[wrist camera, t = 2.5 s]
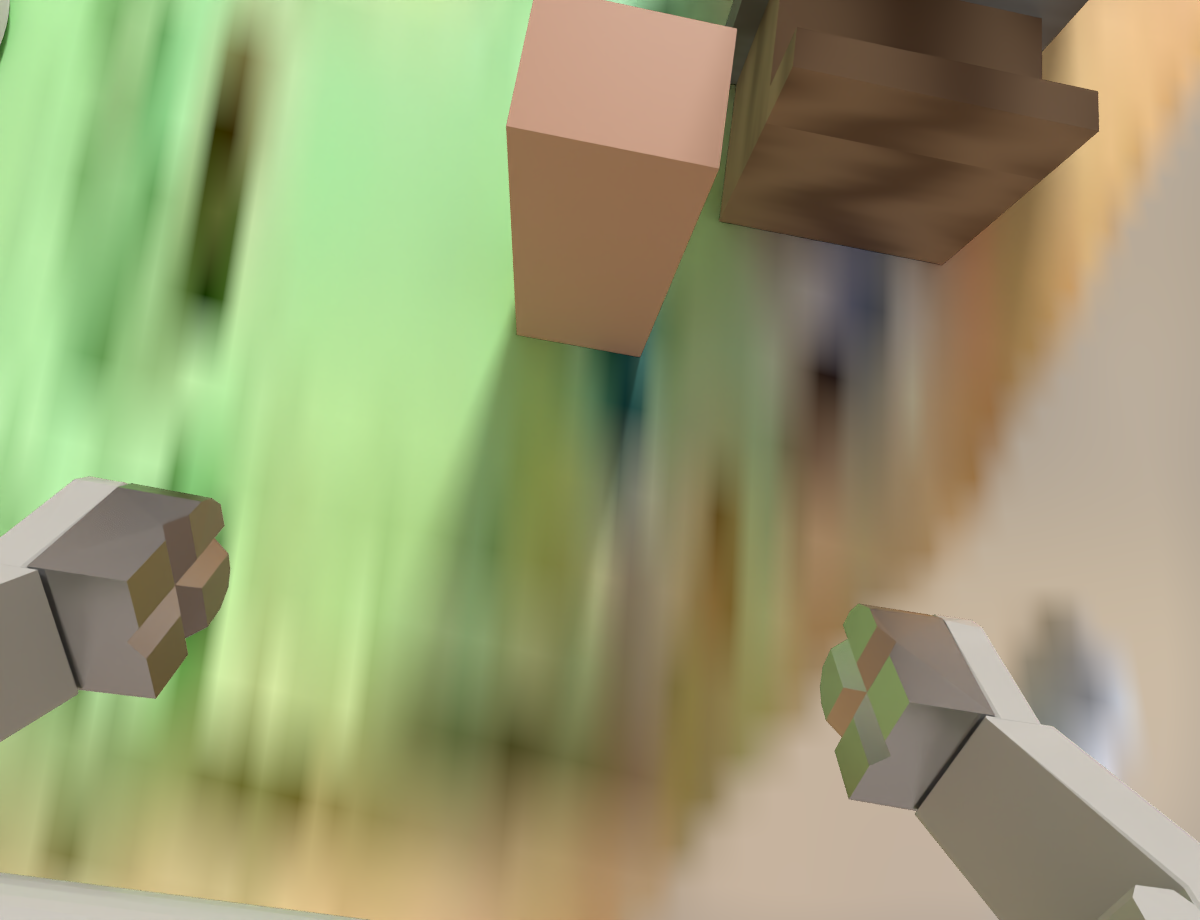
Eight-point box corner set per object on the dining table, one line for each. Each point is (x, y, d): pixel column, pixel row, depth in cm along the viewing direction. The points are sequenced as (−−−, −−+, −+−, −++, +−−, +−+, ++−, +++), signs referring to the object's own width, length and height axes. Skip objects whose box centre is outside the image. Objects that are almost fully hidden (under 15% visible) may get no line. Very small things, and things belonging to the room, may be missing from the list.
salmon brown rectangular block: (516, 334, 27) (506, 125, 16) (534, 245, 28) (536, -15, 17) (640, 357, 28) (719, 168, 16) (653, 268, 29) (737, 28, 17)
